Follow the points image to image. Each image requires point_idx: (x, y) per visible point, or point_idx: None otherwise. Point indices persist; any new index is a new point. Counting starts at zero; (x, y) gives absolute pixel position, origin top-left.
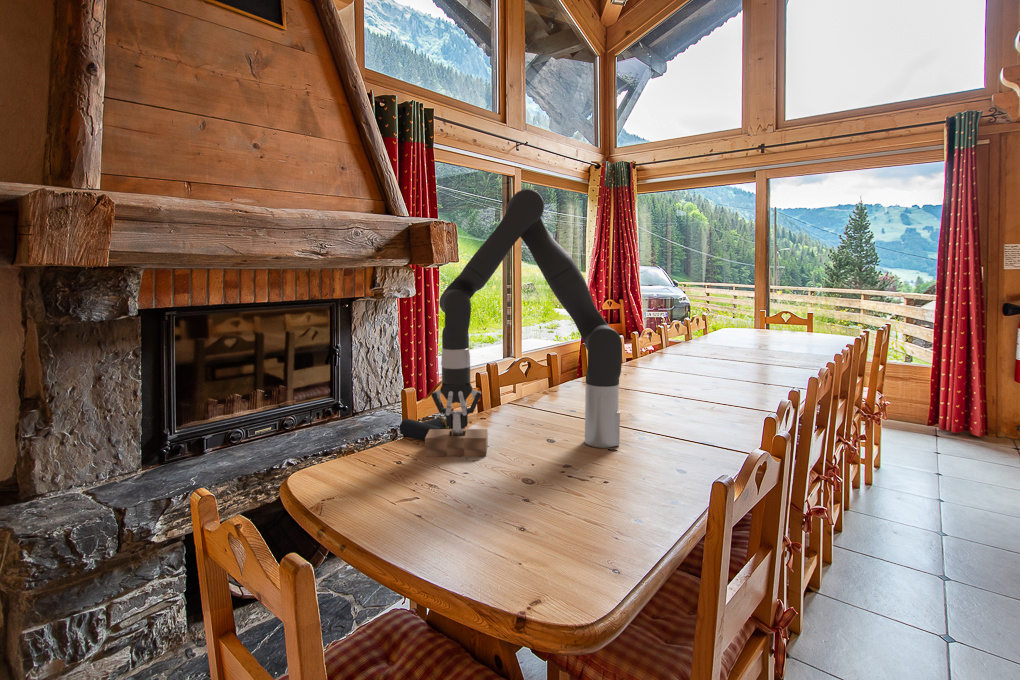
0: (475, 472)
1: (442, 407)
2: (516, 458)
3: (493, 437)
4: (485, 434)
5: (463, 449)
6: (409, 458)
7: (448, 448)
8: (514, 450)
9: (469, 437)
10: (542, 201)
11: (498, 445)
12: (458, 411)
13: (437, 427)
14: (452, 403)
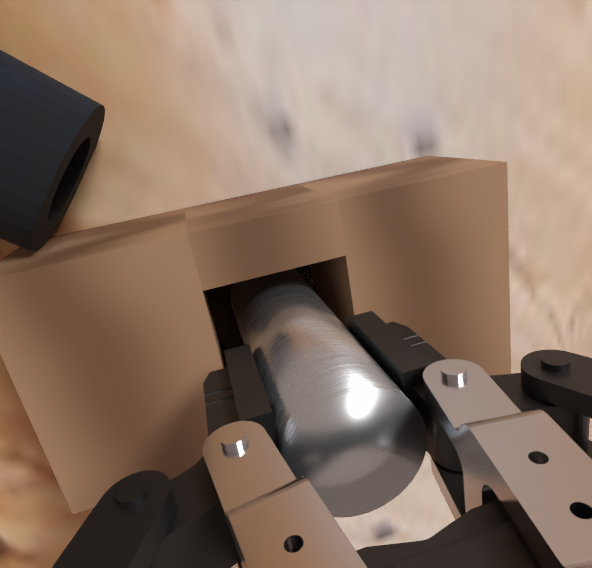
0: (421, 514)
1: (157, 564)
2: (581, 309)
3: None
4: (502, 302)
5: None
6: (10, 477)
7: None
8: (576, 192)
9: None
10: None
11: (489, 116)
12: (372, 428)
13: (4, 165)
14: (311, 495)
